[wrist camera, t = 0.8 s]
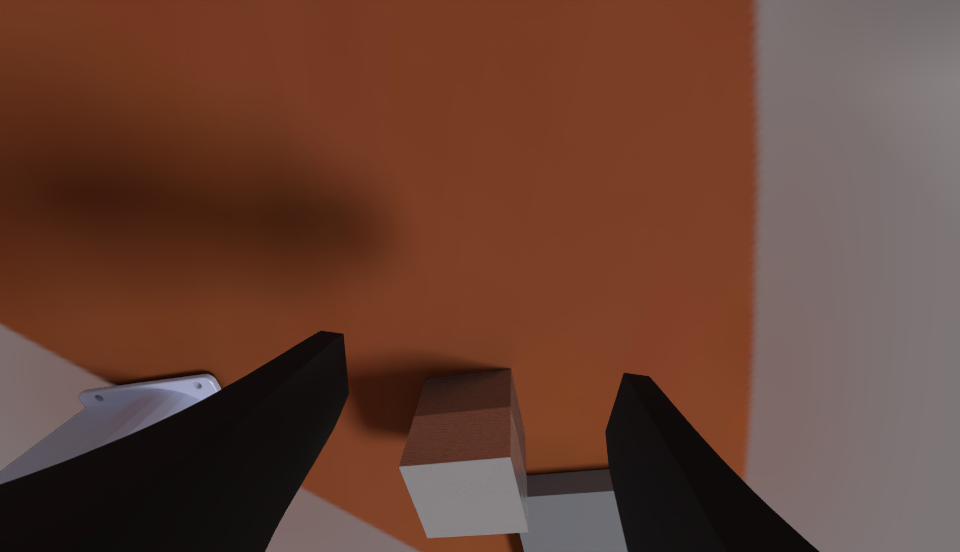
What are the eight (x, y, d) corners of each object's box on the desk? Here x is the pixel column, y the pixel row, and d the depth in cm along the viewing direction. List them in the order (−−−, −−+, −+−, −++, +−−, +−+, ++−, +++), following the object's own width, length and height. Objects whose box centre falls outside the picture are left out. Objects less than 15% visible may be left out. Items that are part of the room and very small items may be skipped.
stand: (533, 569, 30) (534, 592, 29) (510, 476, 26) (510, 498, 25) (673, 563, 28) (681, 587, 27) (672, 464, 24) (681, 486, 23)
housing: (446, 441, 25) (427, 538, 20) (425, 378, 23) (398, 466, 18) (525, 433, 24) (528, 532, 19) (510, 367, 22) (510, 457, 17)
